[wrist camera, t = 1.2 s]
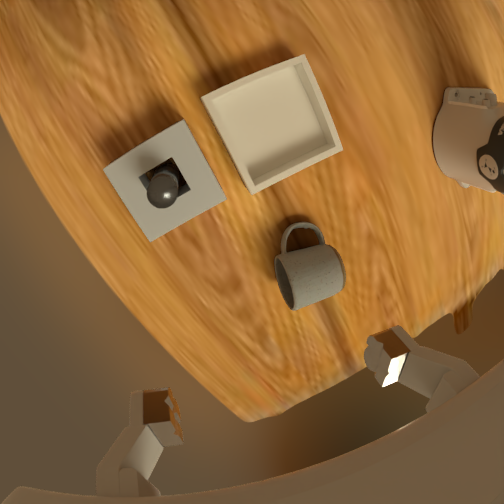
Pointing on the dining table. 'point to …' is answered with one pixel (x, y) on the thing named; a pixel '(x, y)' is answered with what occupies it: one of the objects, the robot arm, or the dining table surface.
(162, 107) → the dining table surface
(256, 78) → the tray
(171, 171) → the pin
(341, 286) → the ceramic mug
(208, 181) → the grey square socket block
